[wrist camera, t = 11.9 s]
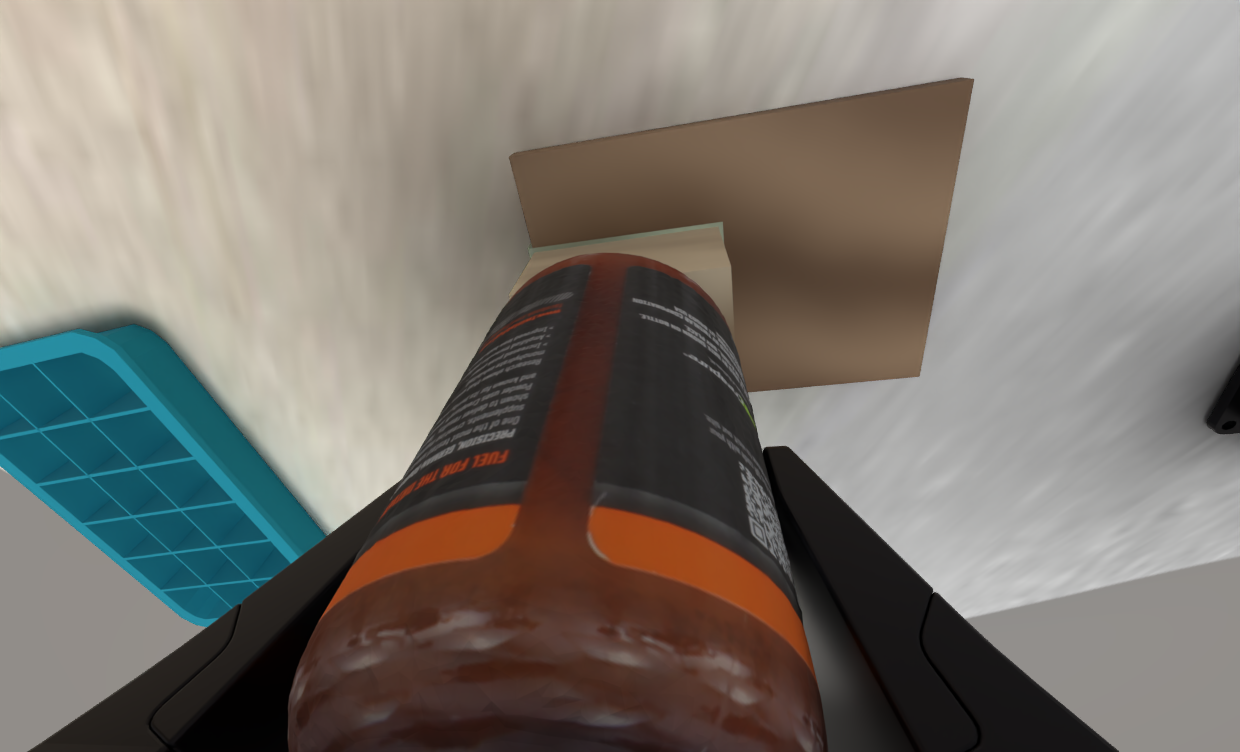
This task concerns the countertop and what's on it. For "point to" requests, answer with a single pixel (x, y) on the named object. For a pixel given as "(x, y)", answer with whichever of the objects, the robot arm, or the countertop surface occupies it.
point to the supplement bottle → (575, 549)
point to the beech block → (662, 261)
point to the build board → (784, 220)
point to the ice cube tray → (147, 467)
